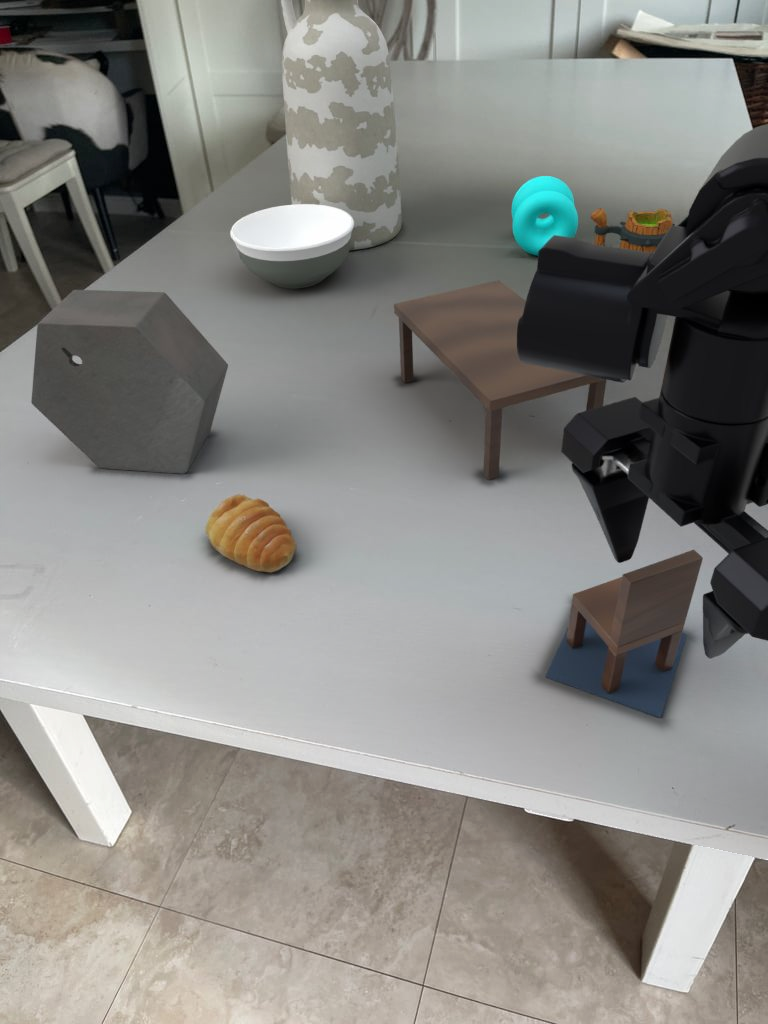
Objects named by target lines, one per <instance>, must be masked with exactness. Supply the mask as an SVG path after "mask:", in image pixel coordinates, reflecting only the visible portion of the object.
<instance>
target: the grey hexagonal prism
mask: <svg viewBox="0 0 768 1024" xmlns="http://www.w3.org/2000/svg"><path fill="white" fill-rule="evenodd" d="M74 356H75V357H78V358H80V360H81V362H82V363H78V362H75V361H74V360H73V357H74ZM33 362H34V363H33V375H32V390H31V405H33V407H34V408H36V410H37V411H39V412H40V413H41V414H42V415H43V416H44V417H45V418H46V419H47V420H48V421H49V422H50V423H51V424H52V425H53V426H54V427H55V428H56V429H58V431H60V432H61V433H62V434H63V435H64V436H65V437H66V438H67V439H68V440H69V441H70V442H71V443H72V444H73V445H74V446H75V447H76V448H77V449H78V450H80V451H81V453H83V454H84V455H85V456H86V457H87V458H88V459H89V460H90V461H91V462H92V463H93V464H94V465H95V466H96V467H97V468H99V469H107V470H119V471H135V472H150V473H151V472H152V473H164V474H165V473H166V474H167V473H168V474H181V475H183V474H186V473H187V472H188V471H189V469H190V467H191V466H192V464H193V462H194V460H195V459H196V457H197V456H198V454H199V452H200V450H201V448H202V447H203V445H204V443H205V442H206V440H207V438H208V436H209V435H210V434H211V429H212V427H213V422H214V419H215V416H216V413H217V408H218V404H219V400H220V397H221V394H222V390H223V387H224V382H225V379H226V375H227V371H228V368H229V364H228V363H227V362H226V360H225V359H224V358H223V356H221V354H220V353H219V352H218V351H217V350H216V349H215V347H214V346H213V345H212V344H211V343H210V342H209V340H208V339H206V337H205V336H204V335H203V334H202V333H201V332H200V330H199V329H198V328H197V327H196V326H195V325H194V323H193V322H192V321H191V320H190V319H189V318H188V317H187V316H186V315H185V313H184V312H183V310H181V308H179V307H178V305H177V304H176V303H175V302H174V301H173V300H172V298H170V296H169V295H168V294H167V292H165V291H164V292H163V291H136V290H135V291H134V290H99V289H98V290H97V289H72V291H71V292H70V293H69V294H68V295H67V296H65V297H64V298H63V299H62V301H60V302H59V303H58V304H57V305H55V307H53V308H52V310H51V311H49V313H47V314H46V316H44V317H43V318H42V319H41V320H40V321H39V322H38V323H37V327H36V338H35V351H34V361H33Z"/></svg>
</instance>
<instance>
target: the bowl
mask: <svg viewBox="0 0 768 1024" xmlns="http://www.w3.org/2000/svg"><path fill="white" fill-rule="evenodd" d="M353 227H354V220H353V218H352V217H351V216H350V215H349V214H348V213H347V212H345V211H343V210H341V209H338V208H335V207H330V206H325V205H315V204H296V205H292V204H285V205H278V206H272V207H267V208H265V209H260V210H257V211H255V212H252V213H249V214H247V215H245V216H243V217H241V218H240V219H238V220H237V221H236V222H235V223H233V225H231V228H230V231H229V234H230V238H231V239H232V240H233V242H234V244H235V246H236V248H237V252H238V255H239V258H240V260H241V262H242V263H243V264H244V266H245V267H246V268H247V269H248V270H249V272H251V273H252V274H254V275H255V276H257V277H259V278H260V279H262V280H265V281H266V282H270V283H272V284H274V286H277V287H279V288H282V289H304V288H309V287H310V288H311V287H312V286H315V285H318V284H320V283H321V282H323V280H325V278H327V277H329V276H330V275H331V274H333V273H334V272H335V271H336V270H338V269H339V268H340V266H342V265H343V263H344V262H345V260H346V259H347V257H348V254H349V252H350V251H351V250H350V239H351V232H352V230H353Z"/></svg>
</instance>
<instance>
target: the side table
mask: <svg viewBox="0 0 768 1024" xmlns="http://www.w3.org/2000/svg"><path fill="white" fill-rule="evenodd" d="M525 303H526V299H525V298H523V297H522V296H521V295H520V294H518V293H517V292H515V291H514V290H513V289H511V288H510V287H509V286H508V285H507V284H505V283H504V282H503V281H501V280H500V279H498V280H494V281H490V282H489V281H488V282H485V283H484V282H483V283H480V284H476V285H471V286H468V287H463V288H458V289H454V290H450V291H445V292H441V293H435V294H432V295H428V296H427V295H426V296H422V297H418V298H414V299H409V300H405V301H401V302H396V303H393V313H394V314H395V316H396V317H398V335H399V357H400V358H399V360H400V361H399V362H400V379H401V381H402V382H403V383H404V384H407V383H412V382H414V381H415V380H414V352H413V351H414V348H413V347H414V346H413V334H414V335H415V336H416V337H417V338H418V339H419V340H420V341H421V342H422V343H423V344H424V345H425V346H426V347H427V348H428V349H429V350H430V351H431V352H432V353H433V355H434V356H436V358H437V359H439V360H440V362H442V363H443V364H444V366H445V367H447V369H448V370H449V371H450V372H451V373H452V374H453V375H454V376H455V377H456V378H457V379H458V380H459V381H460V382H461V383H462V384H463V385H464V386H465V387H466V388H467V389H468V390H469V391H470V392H471V393H472V394H473V395H474V396H475V397H476V398H477V399H478V400H479V402H480V403H482V404H483V406H484V407H485V417H484V418H485V419H484V420H485V423H484V449H483V471H482V472H483V473H482V474H483V475H484V477H485V478H486V479H487V480H488V481H490V480H494V479H497V478H499V477H500V476H499V475H500V459H501V458H500V457H501V456H500V455H501V439H502V438H501V437H502V418H503V408H507V407H510V406H514V405H518V404H521V403H524V402H529V401H532V400H536V399H540V398H543V397H547V396H551V395H554V394H557V393H561V392H565V391H570V390H573V389H576V388H580V387H583V386H587V385H588V390H587V391H588V393H587V399H586V406H585V407H586V408H585V411H587V410H591V409H594V408H598V407H601V406H604V400H605V394H606V387H607V379H602V378H597V377H592V376H587V375H582V374H577V373H572V372H567V371H562V370H557V369H552V368H548V367H543V366H538V365H533V364H528V363H523V362H522V361H521V360H520V359H519V356H518V351H517V327H518V321H519V319H520V317H521V316H522V315H523V312H524V307H525Z"/></svg>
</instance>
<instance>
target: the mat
mask: <svg viewBox="0 0 768 1024" xmlns="http://www.w3.org/2000/svg"><path fill="white" fill-rule="evenodd" d="M567 632H568V627H567V628H566V630H565V633H564V635H563V637H562V639H561V641H560V643H559V646H558V648H557V650H556V652H555V654H554V656H553V659H552V661H551V663H550V665H549V667H548V669H547V671H546V673H545V678H547V679H550V680H553V681H556V682H559V683H561V684H564V685H567V686H569V687H572V688H575V689H578V690H581V691H583V692H585V693H589V694H592V695H595V696H598V697H601V698H603V699H605V700H609V701H612V702H614V703H617V704H620V705H623V706H625V707H628V708H631V709H634V710H637V711H639V712H642V713H645V714H647V715H651V716H653V717H656V718H659V719H661V718H662V715H663V713H664V709H665V706H666V703H667V699H668V696H669V693H670V690H671V687H672V684H673V680H674V677H675V675H676V672H677V668H678V665H679V661H680V658H681V656H682V655H681V654H682V652H683V648H684V646H685V641H686V639H687V636H688V635H687V634H685V633H683V632H682V635H681V638H680V642H679V646H678V649H677V653H676V656H675V660H674V664H673V667H672V669H670V670H668V671H665V672H661V671H660V670H659V669H658V667H657V666H656V665H655V661H656V657H657V653H658V649H659V645H660V641H661V639H659V640H656V641H653V642H651V643H648V644H646V645H643V646H640V647H638V648H635V649H633V650H630V651H627V654H626V659H625V663H624V668H623V672H622V677H621V681H620V686H619V690H617V691H615V692H612V693H610V694H608V693H607V692H606V691H605V690H604V688H603V687H602V686H601V683H602V677H603V672H604V667H605V662H606V657H607V652H608V646H607V644H606V643H605V642H604V641H603V640H602V638H601V637H600V636H599V635H598V634H597V632H596V631H595V630H594V629H593V628H592V626H591V625H590V624H589V623H588V622H587V621H586V627H585V633H584V639H583V645H581V646H579V647H576V648H573V649H572V648H571V646H570V645H569V644H568V642H567V641H566V639H567Z"/></svg>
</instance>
